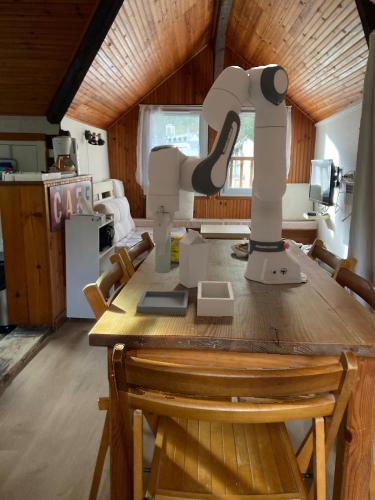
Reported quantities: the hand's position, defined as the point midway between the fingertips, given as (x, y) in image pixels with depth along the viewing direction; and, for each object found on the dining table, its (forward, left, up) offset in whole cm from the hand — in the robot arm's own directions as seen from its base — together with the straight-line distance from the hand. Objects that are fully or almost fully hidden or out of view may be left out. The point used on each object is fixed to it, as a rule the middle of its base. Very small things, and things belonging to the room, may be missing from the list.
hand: (163, 252), depth 113 cm
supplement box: (0, -51, -16) cm, 54 cm away
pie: (-35, -66, -17) cm, 76 cm away
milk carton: (-8, -20, -16) cm, 27 cm away
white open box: (-15, 0, -16) cm, 22 cm away
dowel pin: (0, 0, -6) cm, 6 cm away
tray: (0, 0, -16) cm, 16 cm away
